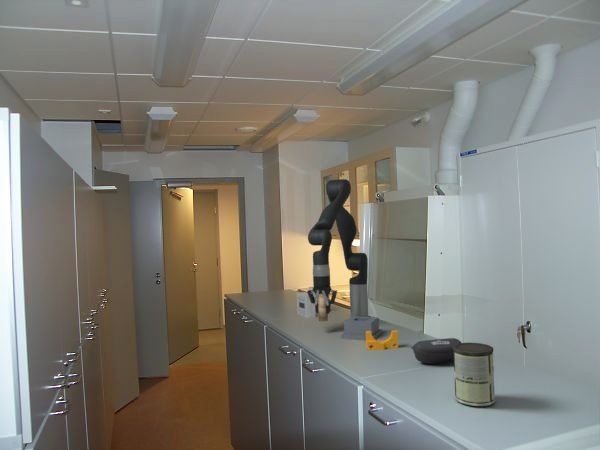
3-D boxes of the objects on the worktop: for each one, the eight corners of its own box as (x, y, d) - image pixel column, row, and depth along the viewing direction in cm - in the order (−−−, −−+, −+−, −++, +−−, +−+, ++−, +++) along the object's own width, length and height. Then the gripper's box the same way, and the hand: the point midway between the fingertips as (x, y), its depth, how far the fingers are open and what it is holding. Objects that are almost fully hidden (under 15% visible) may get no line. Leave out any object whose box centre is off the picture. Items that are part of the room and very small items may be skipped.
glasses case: (421, 368, 159) (420, 345, 159) (407, 360, 169) (406, 338, 169) (470, 363, 163) (469, 340, 163) (453, 355, 173) (452, 334, 173)
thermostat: (297, 315, 262) (296, 287, 262) (320, 312, 268) (319, 285, 268) (307, 318, 251) (306, 289, 251) (331, 315, 257) (330, 287, 257)
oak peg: (320, 319, 217) (319, 292, 216) (329, 319, 215) (328, 292, 215) (317, 321, 213) (316, 294, 213) (326, 321, 211) (324, 294, 211)
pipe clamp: (367, 350, 185) (366, 333, 185) (366, 347, 189) (365, 331, 189) (399, 349, 184) (398, 332, 184) (397, 346, 189) (396, 330, 189)
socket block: (351, 330, 218) (351, 315, 218) (382, 332, 213) (381, 316, 213) (341, 338, 205) (340, 321, 205) (373, 340, 199) (372, 323, 199)
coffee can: (449, 393, 135) (447, 343, 135) (485, 391, 135) (483, 341, 135) (462, 407, 125) (460, 352, 125) (502, 405, 125) (500, 351, 125)
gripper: (339, 273, 214) (341, 312, 215) (309, 273, 220) (311, 311, 220) (333, 275, 207) (335, 315, 208) (303, 275, 213) (305, 314, 213)
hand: (323, 313), depth 214 cm, fingers closed on oak peg, 4 cm apart
